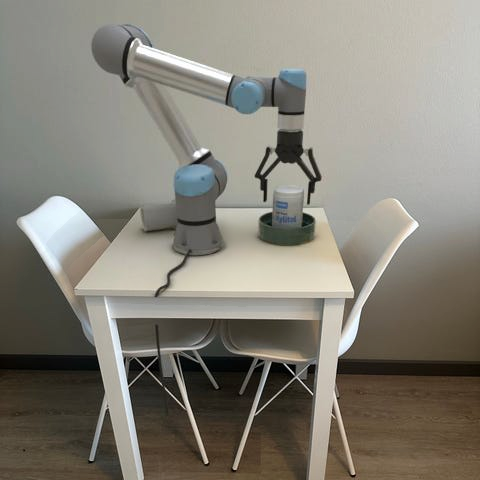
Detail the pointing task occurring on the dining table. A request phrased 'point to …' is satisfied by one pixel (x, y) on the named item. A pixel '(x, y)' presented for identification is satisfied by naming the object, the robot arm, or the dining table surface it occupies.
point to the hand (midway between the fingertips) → (286, 202)
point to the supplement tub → (287, 207)
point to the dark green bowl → (286, 230)
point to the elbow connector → (159, 216)
